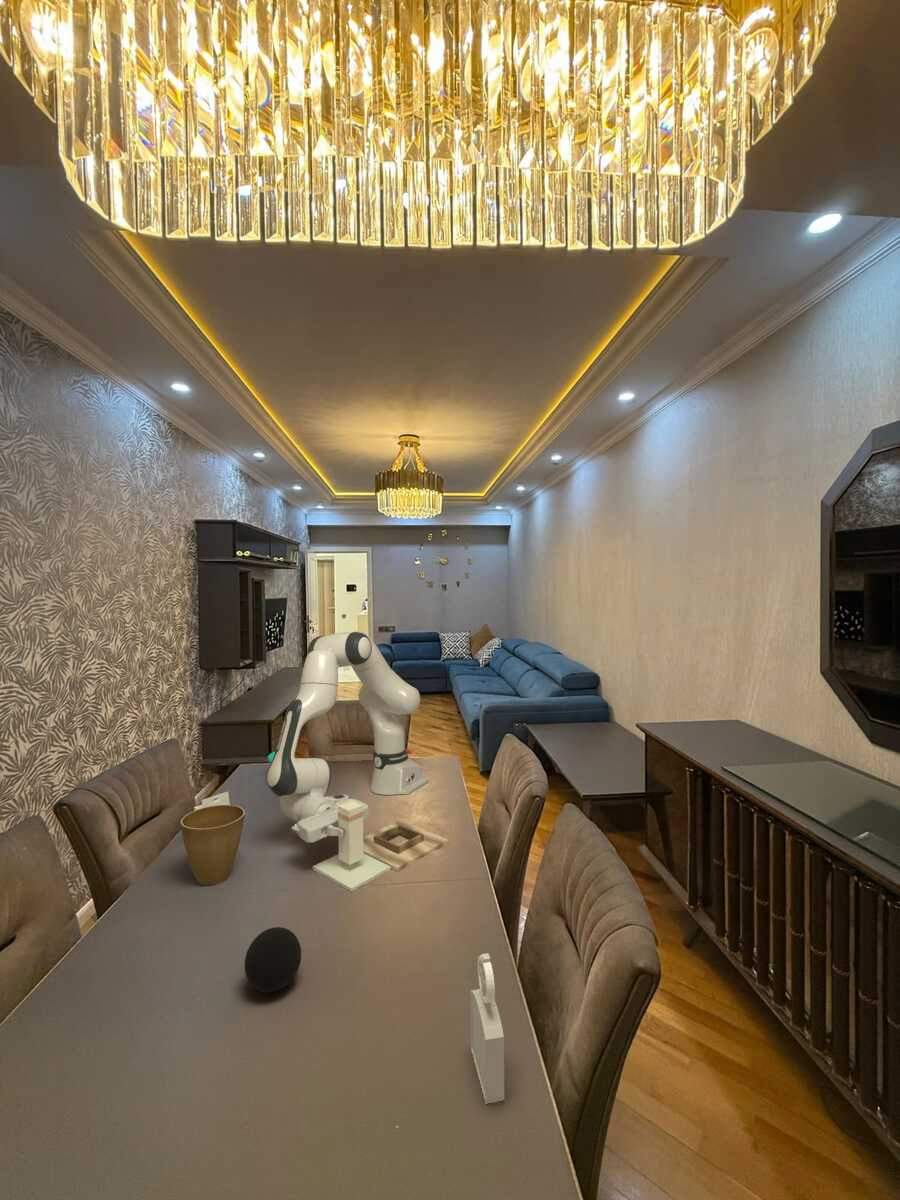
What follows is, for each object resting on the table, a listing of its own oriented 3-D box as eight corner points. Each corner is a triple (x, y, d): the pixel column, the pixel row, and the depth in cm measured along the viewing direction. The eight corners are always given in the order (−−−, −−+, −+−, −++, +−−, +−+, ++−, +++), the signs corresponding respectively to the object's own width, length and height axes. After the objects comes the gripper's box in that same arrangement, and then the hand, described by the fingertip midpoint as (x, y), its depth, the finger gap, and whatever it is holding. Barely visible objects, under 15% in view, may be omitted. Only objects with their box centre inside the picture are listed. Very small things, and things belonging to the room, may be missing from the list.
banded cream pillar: (352, 852, 142) (352, 800, 141) (364, 858, 139) (363, 805, 138) (338, 859, 138) (337, 806, 138) (349, 865, 135) (349, 811, 135)
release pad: (351, 850, 149) (351, 847, 149) (390, 869, 138) (390, 866, 138) (312, 869, 139) (312, 866, 139) (351, 891, 128) (351, 888, 128)
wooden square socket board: (399, 823, 166) (399, 814, 165) (448, 843, 152) (448, 833, 152) (348, 847, 150) (348, 837, 150) (397, 871, 137) (397, 860, 137)
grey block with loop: (487, 1045, 85) (486, 935, 85) (504, 1101, 76) (503, 977, 75) (470, 1048, 84) (469, 937, 84) (485, 1104, 75) (484, 980, 75)
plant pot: (222, 897, 127) (221, 831, 126) (168, 890, 130) (166, 826, 129) (257, 865, 141) (256, 805, 141) (207, 860, 144) (206, 801, 144)
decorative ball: (309, 967, 103) (308, 916, 103) (289, 1008, 93) (288, 952, 93) (260, 964, 104) (259, 914, 104) (234, 1004, 94) (233, 949, 94)
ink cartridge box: (222, 836, 158) (221, 787, 158) (231, 840, 155) (230, 791, 155) (193, 847, 151) (192, 796, 151) (202, 852, 148) (201, 800, 148)
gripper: (287, 815, 139) (319, 831, 130) (350, 792, 154) (381, 805, 145) (288, 839, 139) (319, 856, 130) (350, 814, 154) (382, 827, 145)
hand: (352, 829), depth 138 cm, fingers closed on banded cream pillar, 4 cm apart
